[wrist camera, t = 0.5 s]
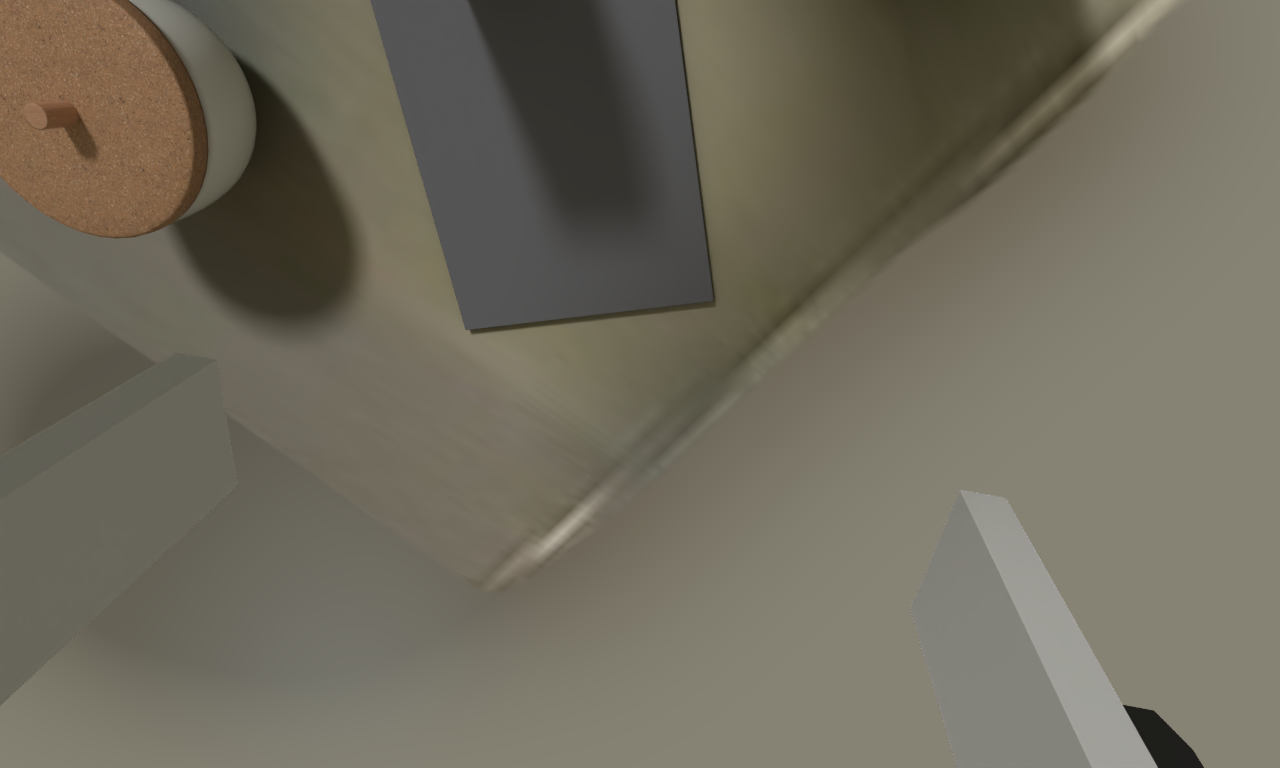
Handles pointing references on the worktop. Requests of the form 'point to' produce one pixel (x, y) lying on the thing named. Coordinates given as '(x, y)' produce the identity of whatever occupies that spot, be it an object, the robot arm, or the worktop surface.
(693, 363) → the worktop surface
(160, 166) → the lidded jar
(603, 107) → the rubber mat
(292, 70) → the worktop surface
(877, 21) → the worktop surface
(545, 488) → the worktop surface
